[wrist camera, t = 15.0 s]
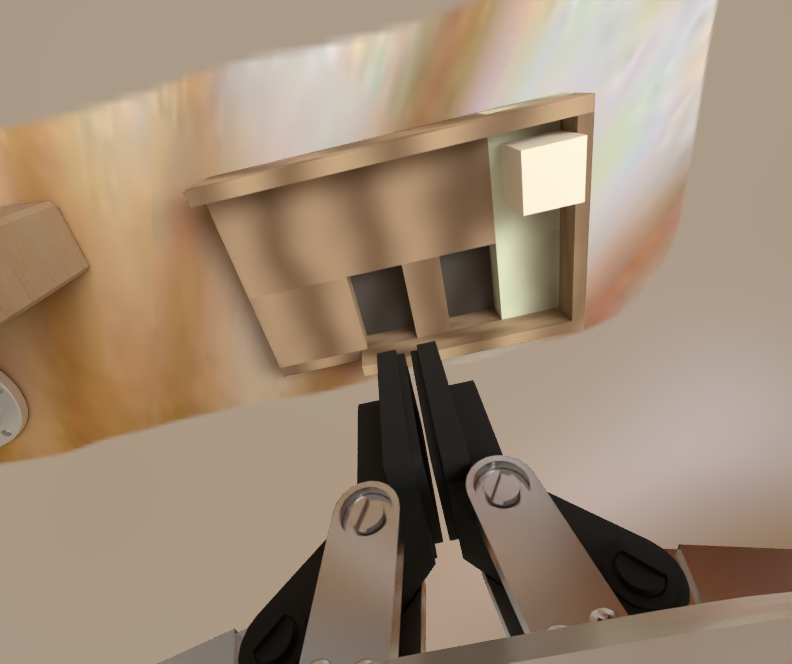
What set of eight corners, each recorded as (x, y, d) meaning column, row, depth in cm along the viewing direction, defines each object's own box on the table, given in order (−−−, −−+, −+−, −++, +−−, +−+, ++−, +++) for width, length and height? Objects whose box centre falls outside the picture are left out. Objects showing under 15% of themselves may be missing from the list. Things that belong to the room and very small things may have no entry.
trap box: (288, 360, 38) (279, 394, 34) (208, 177, 29) (182, 191, 25) (558, 301, 37) (584, 329, 33) (559, 92, 28) (595, 93, 24)
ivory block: (504, 201, 29) (523, 216, 26) (501, 143, 27) (521, 150, 24) (558, 189, 29) (584, 202, 26) (558, 129, 27) (587, 135, 24)
